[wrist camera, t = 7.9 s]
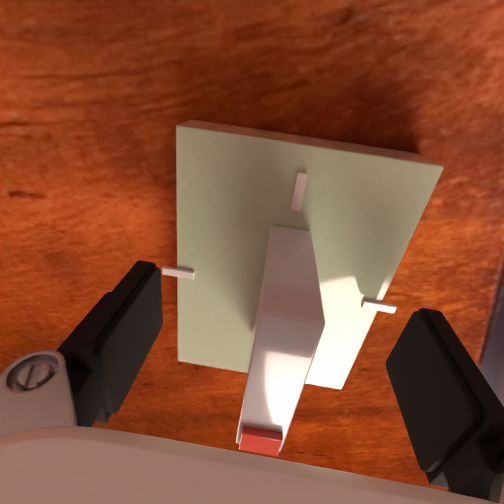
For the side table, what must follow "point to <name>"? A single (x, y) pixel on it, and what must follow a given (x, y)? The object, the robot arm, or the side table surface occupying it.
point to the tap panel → (291, 216)
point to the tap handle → (280, 340)
